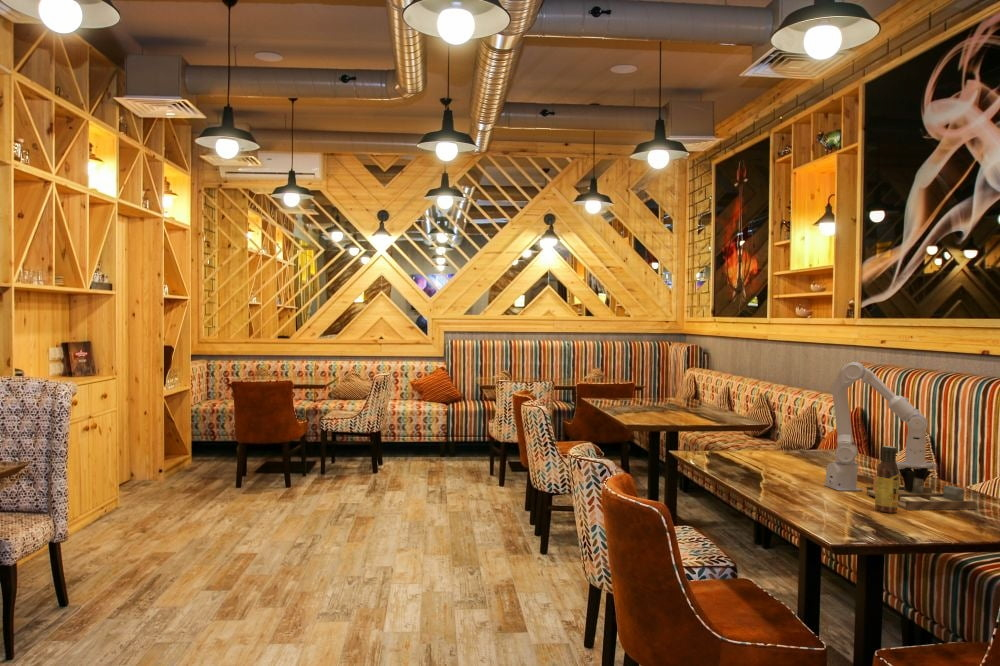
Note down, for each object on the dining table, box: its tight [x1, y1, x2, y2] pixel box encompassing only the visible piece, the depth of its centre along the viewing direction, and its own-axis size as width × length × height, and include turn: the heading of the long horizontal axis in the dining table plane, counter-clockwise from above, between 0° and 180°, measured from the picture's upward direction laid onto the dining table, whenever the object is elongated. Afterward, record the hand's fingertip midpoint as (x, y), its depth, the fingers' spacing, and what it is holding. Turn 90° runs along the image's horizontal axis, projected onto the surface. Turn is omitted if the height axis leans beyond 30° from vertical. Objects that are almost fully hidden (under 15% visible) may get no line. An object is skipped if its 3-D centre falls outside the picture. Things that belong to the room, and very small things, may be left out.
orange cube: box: [872, 477, 876, 492], centre depth 236 cm, size 4×4×4 cm
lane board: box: [866, 484, 976, 511], centre depth 233 cm, size 24×19×6 cm
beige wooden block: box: [866, 477, 925, 496], centre depth 237 cm, size 16×7×6 cm, turn 100°
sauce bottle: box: [874, 445, 901, 514], centre depth 220 cm, size 7×6×20 cm
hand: (913, 490), depth 238 cm, fingers closed on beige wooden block, 3 cm apart
